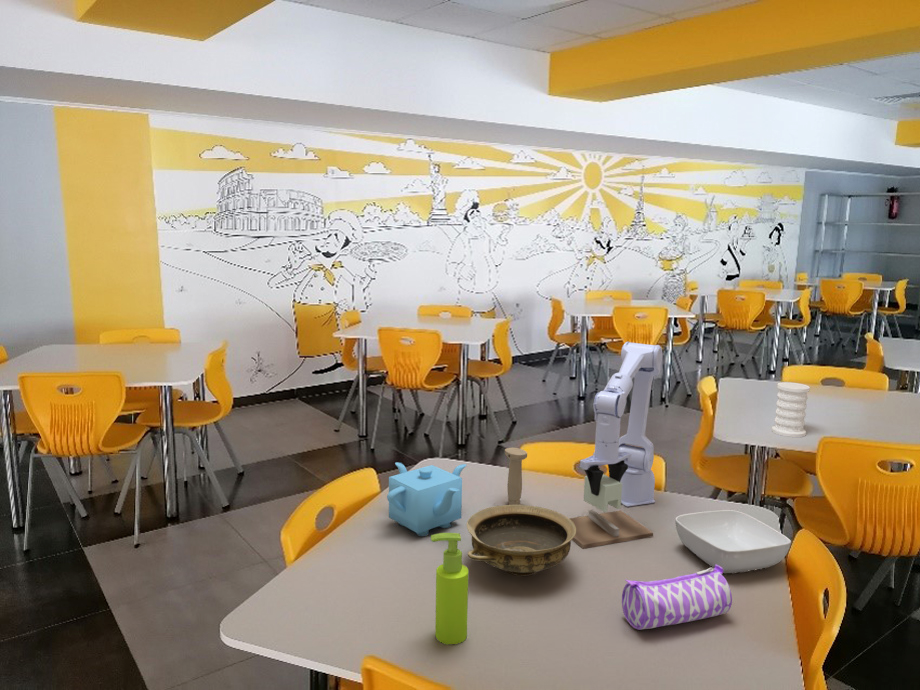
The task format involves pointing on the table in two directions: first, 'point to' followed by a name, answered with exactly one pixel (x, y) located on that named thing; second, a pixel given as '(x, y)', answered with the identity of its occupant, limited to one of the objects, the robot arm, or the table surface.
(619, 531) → the cleat board
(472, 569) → the table surface
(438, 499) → the teakettle
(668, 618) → the pencil case
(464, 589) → the soap dispenser
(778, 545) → the square bowl
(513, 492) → the handle
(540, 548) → the ceramic bowl
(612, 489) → the cabinet block
